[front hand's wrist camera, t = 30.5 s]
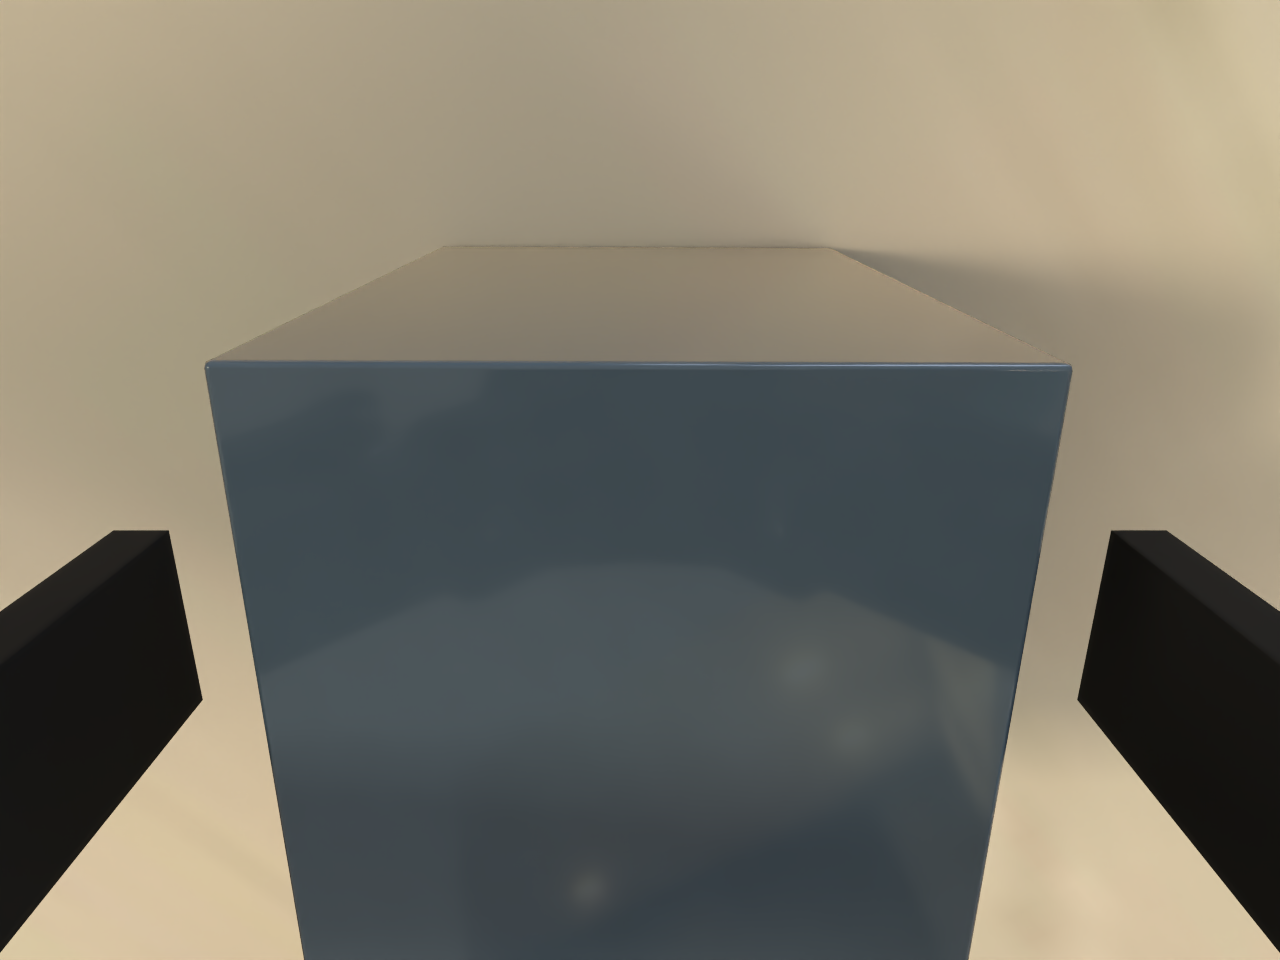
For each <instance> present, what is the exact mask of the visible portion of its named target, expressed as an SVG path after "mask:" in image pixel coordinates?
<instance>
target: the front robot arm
mask: <svg viewBox="0 0 1280 960" xmlns="http://www.w3.org/2000/svg"><path fill="white" fill-rule="evenodd" d="M202 700H203V699H202V694H201V689H200V684H199V679H198V674H197V669H196V664H195V659H194V654H193V649H192V644H191V639H190V634H189V629H188V624H187V619H186V614H185V609H184V604H183V599H182V594H181V589H180V584H179V579H178V574H177V569H176V564H175V559H174V554H173V549H172V544H171V539H170V534H169V531H112V532H111V533H109V534H108V535H107V536H105V537H104V538H102V539H101V540H100V541H98V542H97V543H95V544H94V545H93V546H91V547H90V548H88V549H87V550H86V551H84V552H83V553H81V554H80V555H79V556H77V557H76V558H74V559H73V560H72V561H70V562H69V563H67V564H66V565H65V566H63V567H62V568H60V569H59V570H58V571H56V572H55V573H54V574H52V575H51V576H49V577H48V578H47V579H45V580H44V581H42V582H41V583H40V584H38V585H37V586H35V587H34V588H33V589H31V590H30V591H28V592H27V593H26V594H24V595H23V596H21V597H20V598H19V599H17V600H16V601H14V602H13V603H12V604H10V605H9V606H7V607H6V608H5V609H3V610H2V611H0V952H1V951H2V950H3V949H4V947H5V946H6V945H7V944H8V942H9V941H10V940H11V939H12V937H13V936H14V935H15V934H16V932H17V931H18V930H19V929H20V927H21V926H22V925H23V924H24V922H25V921H26V920H27V919H28V917H29V916H30V915H31V914H32V912H33V911H34V910H35V909H36V907H37V906H38V905H39V904H40V902H41V901H42V900H43V899H44V897H45V896H46V895H47V894H48V892H49V891H50V890H51V889H52V887H53V886H54V885H55V884H56V882H57V881H58V880H59V879H60V877H61V876H62V875H63V874H64V872H65V871H66V870H67V869H68V867H69V866H70V865H71V864H72V862H73V861H74V860H75V859H76V857H77V856H78V855H79V854H80V852H81V851H82V850H83V849H84V847H85V846H86V845H87V844H88V842H89V841H90V840H91V839H92V837H93V836H94V835H95V834H96V832H97V831H98V830H99V829H100V827H101V826H102V825H103V824H104V822H105V821H106V820H107V819H108V817H109V816H110V815H111V814H112V812H113V811H114V810H115V809H116V807H117V806H118V805H119V804H120V802H121V801H122V800H123V799H124V797H125V796H126V795H127V794H128V792H129V791H130V790H131V789H132V787H133V786H134V785H135V784H136V782H137V781H138V780H139V779H140V777H141V776H142V775H143V774H144V772H145V771H146V770H147V769H148V767H149V766H150V765H151V764H152V762H153V761H154V760H155V759H156V757H157V756H158V755H159V754H160V752H161V751H162V750H163V749H164V747H165V746H166V745H167V744H168V742H169V741H170V740H171V739H172V737H173V736H174V735H175V734H176V732H177V731H178V730H179V729H180V727H181V726H182V725H183V724H184V722H185V721H186V720H187V719H188V717H189V716H190V715H191V714H192V712H193V711H194V710H195V709H196V707H197V706H198V705H199V704H200V702H201V701H202ZM1077 700H1078V701H1079V702H1080V704H1081V705H1082V706H1083V707H1084V709H1085V710H1086V711H1087V712H1088V714H1089V715H1090V716H1091V717H1092V719H1093V720H1094V721H1095V722H1096V724H1097V725H1098V726H1099V727H1100V729H1101V730H1102V731H1103V732H1104V734H1105V735H1106V736H1107V737H1108V739H1109V740H1110V741H1111V742H1112V744H1113V745H1114V746H1115V747H1116V749H1117V750H1118V751H1119V752H1120V754H1121V755H1122V756H1123V757H1124V759H1125V760H1126V761H1127V762H1128V764H1129V765H1130V766H1131V767H1132V769H1133V770H1134V771H1135V772H1136V774H1137V775H1138V776H1139V777H1140V779H1141V780H1142V781H1143V782H1144V784H1145V785H1146V786H1147V787H1148V789H1149V790H1150V791H1151V792H1152V794H1153V795H1154V796H1155V797H1156V799H1157V800H1158V801H1159V802H1160V804H1161V805H1162V806H1163V807H1164V809H1165V810H1166V811H1167V812H1168V814H1169V815H1170V816H1171V817H1172V819H1173V820H1174V821H1175V822H1176V824H1177V825H1178V826H1179V827H1180V829H1181V830H1182V831H1183V832H1184V834H1185V835H1186V836H1187V837H1188V839H1189V840H1190V841H1191V842H1192V844H1193V845H1194V846H1195V847H1196V849H1197V850H1198V851H1199V852H1200V854H1201V855H1202V856H1203V857H1204V859H1205V860H1206V861H1207V862H1208V864H1209V865H1210V866H1211V867H1212V869H1213V870H1214V871H1215V872H1216V874H1217V875H1218V876H1219V877H1220V879H1221V880H1222V881H1223V882H1224V884H1225V885H1226V886H1227V887H1228V889H1229V890H1230V891H1231V892H1232V894H1233V895H1234V896H1235V897H1236V899H1237V900H1238V901H1239V902H1240V904H1241V905H1242V906H1243V907H1244V909H1245V910H1246V911H1247V912H1248V914H1249V915H1250V916H1251V917H1252V919H1253V920H1254V921H1255V922H1256V924H1257V925H1258V926H1259V927H1260V929H1261V930H1262V931H1263V932H1264V934H1265V935H1266V936H1267V937H1268V939H1269V940H1270V941H1271V942H1272V944H1273V945H1274V946H1275V947H1276V949H1277V950H1278V951H1279V952H1280V611H1278V610H1277V609H1275V608H1274V607H1273V606H1271V605H1270V604H1268V603H1267V602H1266V601H1264V600H1263V599H1261V598H1260V597H1259V596H1257V595H1256V594H1254V593H1253V592H1252V591H1250V590H1249V589H1247V588H1246V587H1245V586H1243V585H1242V584H1240V583H1239V582H1238V581H1236V580H1235V579H1233V578H1232V577H1231V576H1229V575H1228V574H1226V573H1225V572H1224V571H1222V570H1221V569H1220V568H1218V567H1217V566H1215V565H1214V564H1213V563H1211V562H1210V561H1208V560H1207V559H1206V558H1204V557H1203V556H1201V555H1200V554H1199V553H1197V552H1196V551H1194V550H1193V549H1192V548H1190V547H1189V546H1187V545H1186V544H1185V543H1183V542H1182V541H1180V540H1179V539H1178V538H1176V537H1175V536H1173V535H1172V534H1171V533H1169V532H1168V531H1111V534H1110V539H1109V544H1108V549H1107V554H1106V559H1105V564H1104V569H1103V574H1102V579H1101V584H1100V589H1099V594H1098V599H1097V604H1096V609H1095V614H1094V619H1093V624H1092V629H1091V634H1090V639H1089V644H1088V649H1087V654H1086V659H1085V664H1084V669H1083V674H1082V679H1081V684H1080V689H1079V694H1078V699H1077Z"/></svg>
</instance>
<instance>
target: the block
mask: <svg viewBox="0 0 1280 960" xmlns="http://www.w3.org/2000/svg"><path fill="white" fill-rule="evenodd" d="M205 374H206V380H207V386H208V392H209V398H210V404H211V410H212V415H213V421H214V427H215V433H216V439H217V445H218V451H219V457H220V463H221V469H222V475H223V481H224V487H225V493H226V499H227V504H228V510H229V516H230V522H231V528H232V534H233V540H234V546H235V552H236V558H237V564H238V570H239V576H240V582H241V588H242V593H243V599H244V605H245V611H246V617H247V623H248V629H249V635H250V641H251V647H252V653H253V659H254V665H255V671H256V677H257V682H258V688H259V694H260V700H261V706H262V712H263V718H264V724H265V730H266V736H267V742H268V748H269V754H270V760H271V766H272V771H273V777H274V783H275V789H276V795H277V801H278V807H279V813H280V819H281V825H282V831H283V837H284V843H285V849H286V855H287V860H288V866H289V872H290V878H291V884H292V890H293V896H294V902H295V908H296V914H297V920H298V926H299V932H300V938H301V943H302V949H303V955H304V960H968V959H969V953H970V948H971V942H972V936H973V931H974V925H975V920H976V914H977V908H978V903H979V897H980V891H981V886H982V880H983V874H984V869H985V863H986V857H987V852H988V846H989V840H990V835H991V829H992V823H993V818H994V812H995V806H996V801H997V795H998V789H999V784H1000V778H1001V772H1002V767H1003V761H1004V755H1005V750H1006V744H1007V738H1008V733H1009V727H1010V721H1011V716H1012V710H1013V705H1014V699H1015V693H1016V688H1017V682H1018V676H1019V671H1020V665H1021V659H1022V654H1023V648H1024V642H1025V637H1026V631H1027V625H1028V620H1029V614H1030V608H1031V603H1032V597H1033V591H1034V586H1035V580H1036V574H1037V569H1038V563H1039V557H1040V552H1041V546H1042V540H1043V535H1044V529H1045V523H1046V518H1047V512H1048V506H1049V501H1050V495H1051V490H1052V484H1053V478H1054V473H1055V467H1056V461H1057V456H1058V450H1059V444H1060V439H1061V433H1062V427H1063V422H1064V416H1065V410H1066V405H1067V399H1068V393H1069V388H1070V382H1071V376H1072V366H1071V364H1069V363H1067V362H1064V361H1062V360H1060V359H1058V358H1056V357H1054V356H1052V355H1050V354H1048V353H1046V352H1044V351H1042V350H1040V349H1038V348H1036V347H1034V346H1031V345H1029V344H1027V343H1025V342H1023V341H1021V340H1019V339H1017V338H1015V337H1013V336H1011V335H1009V334H1007V333H1005V332H1003V331H1000V330H998V329H996V328H994V327H992V326H990V325H988V324H986V323H984V322H982V321H980V320H978V319H976V318H974V317H972V316H970V315H967V314H965V313H963V312H961V311H959V310H957V309H955V308H953V307H951V306H949V305H947V304H945V303H943V302H941V301H939V300H936V299H934V298H932V297H930V296H928V295H926V294H924V293H922V292H920V291H918V290H916V289H914V288H912V287H910V286H908V285H906V284H903V283H901V282H899V281H897V280H895V279H893V278H891V277H889V276H887V275H885V274H883V273H881V272H879V271H877V270H875V269H873V268H870V267H868V266H866V265H864V264H862V263H860V262H858V261H856V260H854V259H852V258H850V257H848V256H846V255H844V254H842V253H839V252H837V251H835V250H833V249H831V248H711V247H467V246H444V247H441V248H439V249H437V250H435V251H433V252H431V253H429V254H427V255H425V256H423V257H421V258H419V259H417V260H415V261H412V262H410V263H408V264H406V265H404V266H402V267H400V268H398V269H396V270H394V271H392V272H390V273H388V274H386V275H384V276H382V277H380V278H377V279H375V280H373V281H371V282H369V283H367V284H365V285H363V286H361V287H359V288H357V289H355V290H353V291H351V292H349V293H347V294H345V295H343V296H340V297H338V298H336V299H334V300H332V301H330V302H328V303H326V304H324V305H322V306H320V307H318V308H316V309H314V310H312V311H310V312H308V313H305V314H303V315H301V316H299V317H297V318H295V319H293V320H291V321H289V322H287V323H285V324H283V325H281V326H279V327H277V328H275V329H273V330H271V331H268V332H266V333H264V334H262V335H260V336H258V337H256V338H254V339H252V340H250V341H248V342H246V343H244V344H242V345H240V346H238V347H236V348H233V349H231V350H229V351H227V352H225V353H223V354H221V355H219V356H217V357H215V358H213V359H211V360H209V361H207V362H206V363H205Z"/></svg>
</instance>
